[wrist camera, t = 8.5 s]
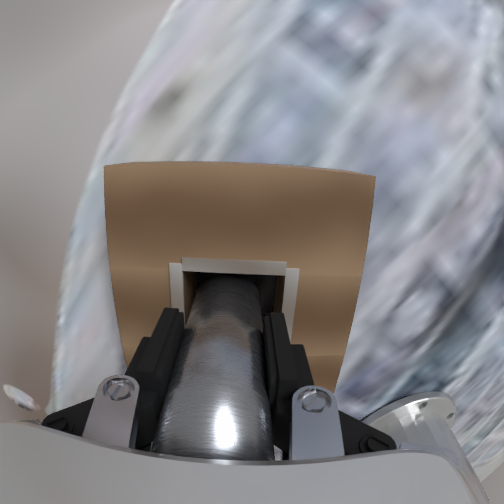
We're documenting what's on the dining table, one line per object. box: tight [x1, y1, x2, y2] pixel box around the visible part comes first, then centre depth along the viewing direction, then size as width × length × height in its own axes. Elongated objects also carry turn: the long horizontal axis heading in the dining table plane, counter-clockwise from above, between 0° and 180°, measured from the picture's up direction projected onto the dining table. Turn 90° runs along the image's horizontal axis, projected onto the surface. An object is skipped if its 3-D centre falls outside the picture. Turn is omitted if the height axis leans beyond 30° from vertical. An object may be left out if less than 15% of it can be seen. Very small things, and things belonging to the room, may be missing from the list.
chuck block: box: [104, 161, 376, 394], centre depth 16 cm, size 14×12×4 cm
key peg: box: [151, 273, 275, 461], centre depth 10 cm, size 4×4×12 cm
